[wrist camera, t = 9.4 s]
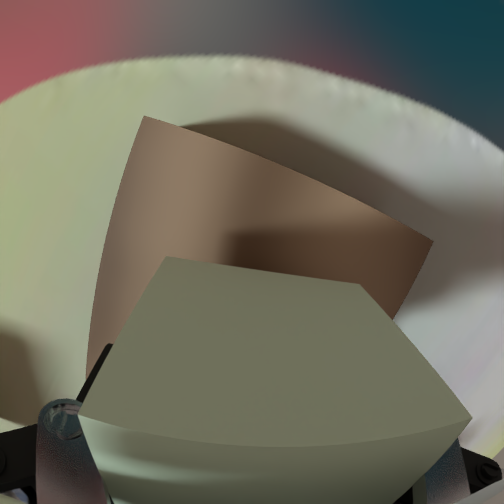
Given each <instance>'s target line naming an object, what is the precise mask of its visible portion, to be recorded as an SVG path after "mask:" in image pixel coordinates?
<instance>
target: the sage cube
mask: <svg viewBox="0 0 504 504" xmlns="http://www.w3.org/2000/svg"><path fill="white" fill-rule="evenodd" d="M78 417H79V421H80V424H81V427H82V429H83V432H84V435H85V438H86V441H87V443H88V446H89V449H90V451H91V454H92V456H93V459H94V461H95V463H96V466H97V468H98V471H99V473H100V475H101V476H103V479H104V481H105V483H106V485H107V487H108V492H109V494H110V496H111V498H112V500H113V502H114V504H393V503H394V502H395V501H396V500H397V499H398V498H400V497H401V496H402V495H403V494H404V493H405V492H406V491H407V490H408V489H410V488H411V487H412V485H413V484H414V483H415V482H416V481H417V480H418V479H419V478H420V477H421V476H422V475H423V474H424V473H426V472H427V471H428V470H429V469H430V468H431V467H432V466H433V465H434V464H435V463H436V462H437V460H438V459H439V458H440V457H441V456H442V455H443V454H444V453H445V452H446V450H447V449H448V448H449V447H450V446H451V445H452V443H453V442H454V441H455V440H456V439H457V437H458V436H459V435H460V434H461V432H462V431H463V430H464V429H465V427H466V426H467V425H468V423H469V422H470V421H471V419H472V416H471V415H470V414H469V412H468V411H467V410H466V408H465V407H464V406H463V405H462V403H461V402H460V401H459V399H458V398H457V397H456V396H455V394H454V393H453V392H452V390H451V389H450V388H449V387H448V385H447V384H446V383H445V382H444V381H443V379H442V378H441V377H440V376H439V374H438V373H437V372H436V371H435V369H434V368H433V367H432V366H431V365H430V363H429V362H428V361H427V360H426V359H425V357H424V356H423V355H422V354H421V353H420V352H419V350H418V349H417V348H416V347H415V346H414V344H413V343H412V342H411V341H410V340H409V339H408V337H407V336H406V335H405V334H404V333H403V332H402V331H401V329H400V328H399V327H398V326H397V325H396V324H395V323H394V321H393V320H392V319H391V318H390V317H389V316H388V315H387V314H386V313H385V311H384V310H383V309H382V308H381V307H380V306H379V305H378V304H377V303H376V301H375V300H374V299H373V298H372V297H371V296H370V295H369V294H368V293H367V292H366V291H365V289H364V288H363V287H362V286H361V285H360V284H356V283H348V282H341V281H333V280H326V279H318V278H311V277H304V276H297V275H290V274H283V273H276V272H269V271H262V270H255V269H248V268H241V267H235V266H228V265H221V264H215V263H208V262H202V261H195V260H189V259H182V258H176V257H170V256H166V257H165V258H164V260H163V261H162V263H161V265H160V266H159V268H158V269H157V271H156V273H155V274H154V276H153V278H152V279H151V281H150V282H149V284H148V286H147V287H146V289H145V291H144V292H143V294H142V296H141V297H140V299H139V301H138V302H137V304H136V306H135V308H134V309H133V311H132V313H131V314H130V316H129V318H128V320H127V321H126V323H125V325H124V327H123V328H122V330H121V332H120V334H119V335H118V337H117V339H116V341H115V343H114V344H113V346H112V348H111V350H110V352H109V354H108V356H107V357H106V359H105V361H104V363H103V365H102V367H101V369H100V371H99V372H98V374H97V376H96V378H95V380H94V382H93V384H92V386H91V388H90V390H89V392H88V394H87V396H86V398H85V400H84V402H83V404H82V406H81V408H80V410H79V412H78Z"/></svg>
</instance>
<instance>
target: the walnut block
mask: <svg viewBox="0 0 504 504" xmlns="http://www.w3.org/2000/svg"><path fill="white" fill-rule="evenodd" d="M433 242H434V241H432V240H430V239H429V238H427V237H425V236H423V235H422V234H420V233H418V232H416V231H415V230H413V229H411V228H409V227H408V226H406V225H404V224H402V223H400V222H399V221H397V220H395V219H393V218H391V217H389V216H387V215H386V214H384V213H382V212H380V211H378V210H376V209H374V208H372V207H370V206H368V205H366V204H364V203H362V202H360V201H358V200H356V199H354V198H352V197H350V196H348V195H346V194H344V193H342V192H340V191H338V190H336V189H334V188H332V187H330V186H327V185H325V184H323V183H321V182H319V181H317V180H314V179H312V178H310V177H308V176H306V175H303V174H301V173H299V172H297V171H294V170H292V169H290V168H287V167H285V166H283V165H280V164H278V163H276V162H273V161H271V160H268V159H266V158H263V157H261V156H258V155H256V154H253V153H251V152H248V151H246V150H243V149H241V148H238V147H235V146H233V145H230V144H227V143H225V142H222V141H219V140H217V139H214V138H211V137H208V136H205V135H203V134H200V133H197V132H194V131H191V130H188V129H185V128H182V127H179V126H176V125H173V124H170V123H167V122H163V121H160V120H157V119H154V118H150V117H147V116H144V117H143V119H142V122H141V125H140V127H139V130H138V132H137V135H136V138H135V141H134V143H133V146H132V149H131V152H130V155H129V158H128V161H127V164H126V167H125V170H124V173H123V177H122V180H121V183H120V186H119V190H118V193H117V197H116V200H115V204H114V208H113V211H112V215H111V219H110V223H109V227H108V231H107V235H106V240H105V244H104V249H103V253H102V258H101V263H100V268H99V273H98V279H97V284H96V290H95V296H94V303H93V309H92V317H91V324H90V333H89V342H88V352H87V365H86V379H87V378H88V376H89V374H90V372H91V371H92V369H93V367H94V365H95V363H96V362H97V360H98V358H99V356H100V354H101V353H102V351H103V349H104V347H105V346H106V345H107V344H108V343H111V344H114V343H115V341H116V339H117V337H118V335H119V334H120V332H121V330H122V328H123V327H124V325H125V323H126V321H127V320H128V318H129V316H130V314H131V313H132V311H133V309H134V308H135V306H136V304H137V302H138V301H139V299H140V297H141V296H142V294H143V292H144V291H145V289H146V287H147V286H148V284H149V282H150V281H151V279H152V278H153V276H154V274H155V273H156V271H157V269H158V268H159V266H160V265H161V263H162V261H163V260H164V258H165V257H166V256H170V257H176V258H182V259H189V260H195V261H202V262H208V263H215V264H221V265H228V266H235V267H241V268H248V269H255V270H262V271H269V272H276V273H283V274H290V275H297V276H304V277H311V278H318V279H326V280H333V281H341V282H348V283H356V284H360V285H361V286H362V287H363V288H364V289H365V291H366V292H367V293H368V294H369V295H370V296H371V297H372V298H373V299H374V300H375V301H376V303H377V304H378V305H379V306H380V307H381V308H382V309H383V310H384V311H385V313H386V314H387V315H388V316H389V317H390V318H391V319H392V320H393V318H394V317H395V315H396V313H397V312H398V310H399V308H400V306H401V305H402V303H403V301H404V299H405V297H406V296H407V294H408V292H409V290H410V288H411V286H412V284H413V283H414V281H415V279H416V277H417V275H418V273H419V271H420V269H421V267H422V265H423V263H424V261H425V259H426V257H427V254H428V252H429V250H430V248H431V246H432V244H433Z"/></svg>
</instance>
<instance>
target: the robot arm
mask: <svg viewBox="0 0 504 504" xmlns="http://www.w3.org/2000/svg"><path fill="white" fill-rule="evenodd" d="M112 346H113V344H111V343H108V344H107V345H106V346H105V347H104V349H103V351H102V353H101V354H100V356H99V358H98V360H97V362H96V363H95V365H94V367H93V369H92V371H91V372H90V374H89V376H88V378H87V380H86V382H85V383H84V385H83V387H82V389H81V391H80V393H79V395H78V397H77V399H76V400H73V399H67V398H66V399H57V400H54V401H51V402H49V403H48V404H47V405H45V406H44V407H43V408H42V410H41V411H40V414H39V417H38V424H34V425H31V426H27V427H23V428H19V429H15V430H11V431H7V432H3V433H0V504H114V502H113V500H112V498H111V496H110V494H109V492H108V487H107V485H106V483H105V481H104V479H103V476H101V475H100V473H99V471H98V468H97V466H96V463H95V461H94V459H93V456H92V454H91V451H90V449H89V446H88V443H87V441H86V438H85V435H84V432H83V429H82V427H81V424H80V421H79V417H78V412H79V410H80V408H81V406H82V404H83V402H84V400H85V398H86V396H87V394H88V392H89V390H90V388H91V386H92V384H93V382H94V380H95V378H96V376H97V374H98V372H99V371H100V369H101V367H102V365H103V363H104V361H105V359H106V357H107V356H108V354H109V352H110V350H111V348H112ZM393 504H504V469H500V467H499V465H498V464H497V462H495V461H494V460H492V459H490V458H488V457H485V456H482V455H480V454H477V453H475V452H472V451H469V450H467V449H464V448H462V447H460V444H459V440H458V437H457V439H456V440H455V441H454V442H453V443H452V445H451V446H450V447H449V448H448V449H447V450H446V452H445V453H444V454H443V455H442V456H441V457H440V458H439V459H438V460H437V462H436V463H435V464H434V465H433V466H432V467H431V468H430V469H429V470H428V471H427V472H426V473H424V474H423V475H422V476H421V477H420V478H419V479H418V480H417V481H416V482H415V483H414V484H413V485H412V487H411V488H410V489H408V490H407V491H406V492H405V493H404V494H403V495H402V496H401V497H400V498H398V499H397V500H396V501H395V502H394V503H393Z"/></svg>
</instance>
